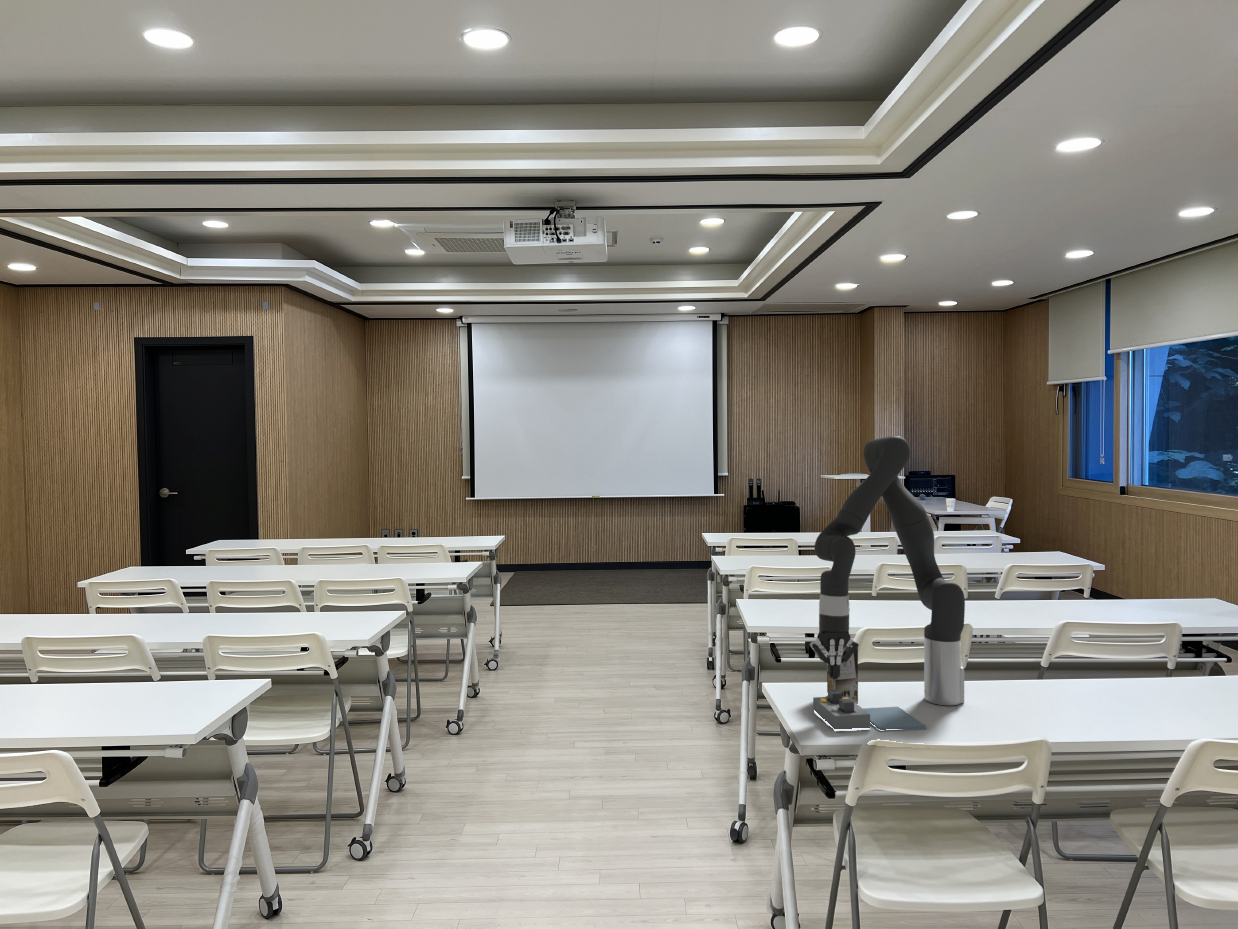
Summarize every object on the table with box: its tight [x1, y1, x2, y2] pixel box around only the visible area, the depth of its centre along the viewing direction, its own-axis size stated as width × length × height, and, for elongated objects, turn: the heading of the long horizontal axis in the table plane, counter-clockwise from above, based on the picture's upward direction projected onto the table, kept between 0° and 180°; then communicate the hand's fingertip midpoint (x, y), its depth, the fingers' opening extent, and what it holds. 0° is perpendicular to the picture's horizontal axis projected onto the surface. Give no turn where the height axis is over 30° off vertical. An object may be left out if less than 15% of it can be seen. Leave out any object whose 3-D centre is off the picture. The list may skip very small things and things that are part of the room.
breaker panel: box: [812, 696, 871, 729], centre depth 189 cm, size 14×9×5 cm, turn 7°
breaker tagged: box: [827, 690, 842, 704], centre depth 192 cm, size 3×3×3 cm
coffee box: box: [826, 645, 859, 705], centre depth 205 cm, size 9×6×16 cm
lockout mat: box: [862, 706, 927, 730], centre depth 190 cm, size 12×14×1 cm
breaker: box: [839, 698, 854, 713], centre depth 186 cm, size 3×3×3 cm
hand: (833, 678), depth 193 cm, fingers closed
